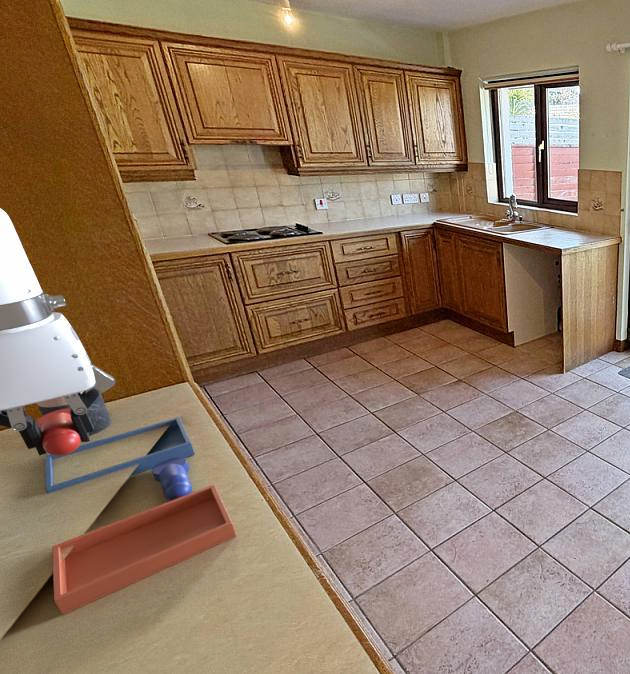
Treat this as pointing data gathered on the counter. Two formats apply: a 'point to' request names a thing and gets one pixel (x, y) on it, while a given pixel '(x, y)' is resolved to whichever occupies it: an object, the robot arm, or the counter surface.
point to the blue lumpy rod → (173, 477)
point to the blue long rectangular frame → (165, 448)
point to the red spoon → (59, 433)
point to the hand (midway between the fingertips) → (64, 442)
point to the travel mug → (95, 411)
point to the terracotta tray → (138, 547)
